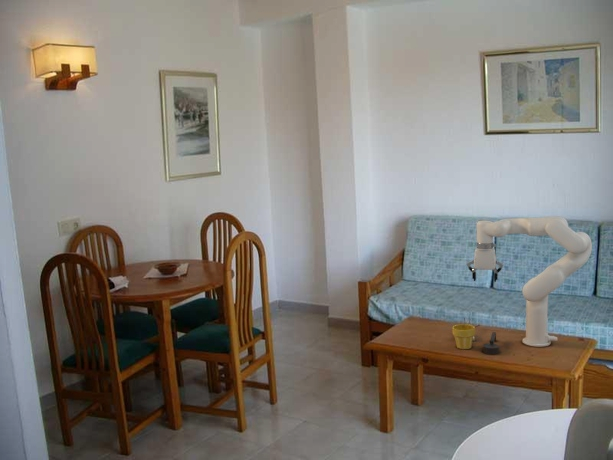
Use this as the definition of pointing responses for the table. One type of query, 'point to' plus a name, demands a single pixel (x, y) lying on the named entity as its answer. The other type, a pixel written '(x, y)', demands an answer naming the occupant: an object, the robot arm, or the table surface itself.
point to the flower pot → (463, 335)
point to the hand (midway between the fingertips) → (484, 280)
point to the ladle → (491, 346)
